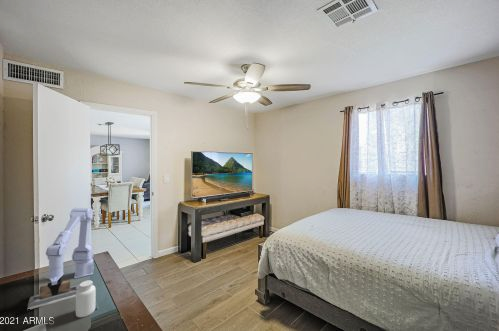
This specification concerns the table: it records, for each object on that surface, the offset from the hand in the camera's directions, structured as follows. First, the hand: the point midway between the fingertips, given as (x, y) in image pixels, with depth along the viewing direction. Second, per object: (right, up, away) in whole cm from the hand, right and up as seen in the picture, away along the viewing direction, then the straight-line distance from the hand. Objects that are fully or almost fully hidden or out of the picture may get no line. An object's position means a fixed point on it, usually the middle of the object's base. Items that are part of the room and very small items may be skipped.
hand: (55, 290), depth 114 cm
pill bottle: (+22, -6, -8) cm, 24 cm away
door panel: (0, -3, 0) cm, 3 cm away
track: (0, -4, 0) cm, 4 cm away
